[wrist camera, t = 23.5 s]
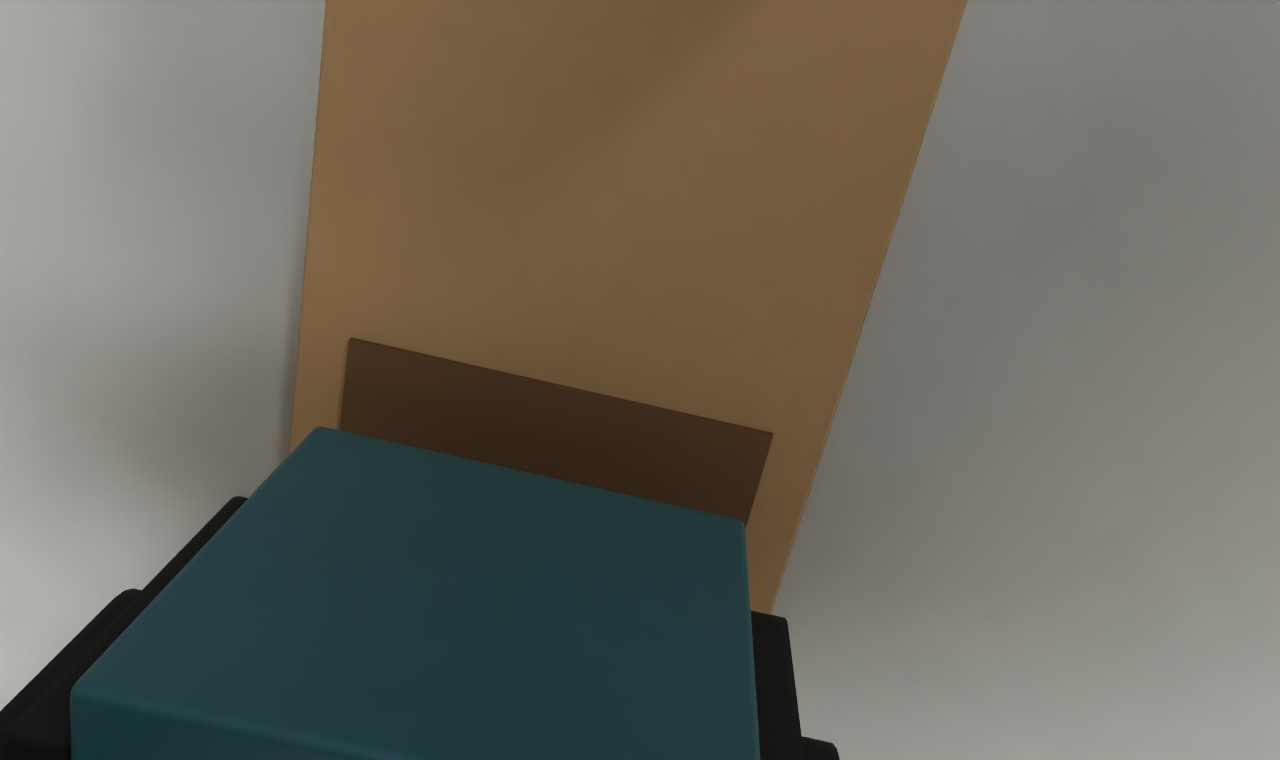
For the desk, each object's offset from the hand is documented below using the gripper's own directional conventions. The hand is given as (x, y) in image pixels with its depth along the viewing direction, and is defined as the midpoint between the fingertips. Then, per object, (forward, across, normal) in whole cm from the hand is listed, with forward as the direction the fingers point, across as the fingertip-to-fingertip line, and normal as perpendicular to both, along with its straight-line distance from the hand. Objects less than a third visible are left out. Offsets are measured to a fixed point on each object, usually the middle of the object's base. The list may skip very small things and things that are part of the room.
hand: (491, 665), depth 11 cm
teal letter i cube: (0, 0, 0) cm, 0 cm away
